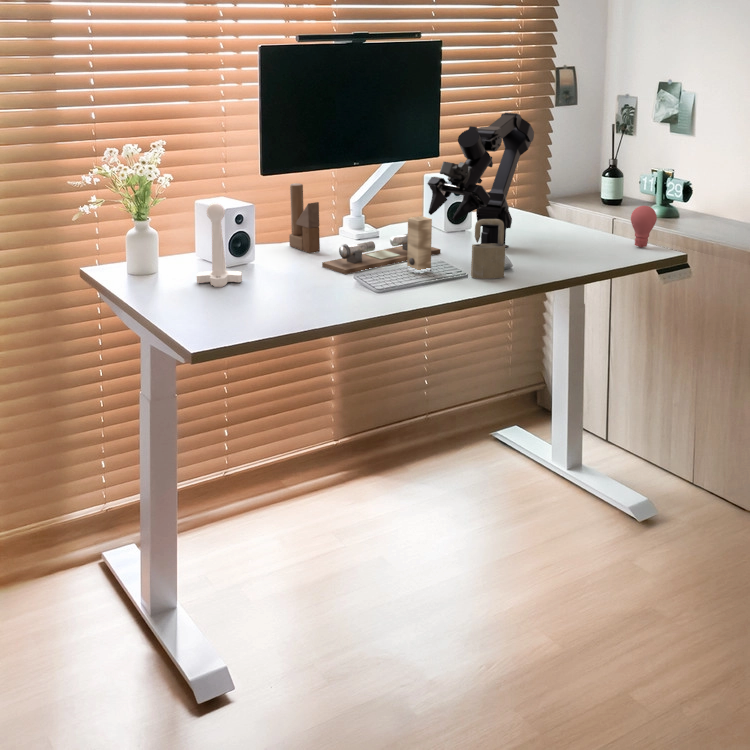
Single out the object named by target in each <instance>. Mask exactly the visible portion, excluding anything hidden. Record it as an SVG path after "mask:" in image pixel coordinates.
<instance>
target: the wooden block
mask: <svg viewBox="0 0 750 750" xmlns="http://www.w3.org/2000/svg"><path fill="white" fill-rule="evenodd" d="M289 190H290V191H289V193H290V195H289V196H290V220H291V221H290V222H291V223H290V224H291V233H289V237H288V238H289V247H292V248H295V249H298V250H301V251H303V252H304V253H308V254H314V252H315V253H319V252H320V251H321V250H320V249H321V245H320V244H321V243H320V239H321V238H320V202H318V201H315V202H310V203H307V204H306V206H305V207H304V185H303V183H300V182H296V183H295V182H294V183H290V185H289Z"/></svg>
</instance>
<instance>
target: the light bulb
mask: <svg viewBox="0 0 750 750" xmlns="http://www.w3.org/2000/svg"><path fill="white" fill-rule="evenodd" d="M657 216H658V215H657V213H656V211H655V209H654V208H653V207H651V206H648V205H640V206H639V205H638V206H637V207H636V208H635V209H634V210H633V211H632V213H631V215H630V223H631V225H632V228H633V230H634V231H633V232H634V237H635V238H634V244H633V245H634V246H636V247H638V248H641V249H642V248H644V247H645V248H646V247H647V246H648V242H649V237H650V233H651V232H652V230H653V228H654V227H655V225H656V223H657V220H658V218H657Z"/></svg>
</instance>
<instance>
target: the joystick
mask: <svg viewBox="0 0 750 750" xmlns="http://www.w3.org/2000/svg"><path fill="white" fill-rule="evenodd" d="M225 214H226V211H225V208H224V206H223V205H222V204H220V203H218V202H214V203H213V202H212V203H211V204H209V205H208V207H207V208H206V215H207V217H208V219H209V220H210V223H211V270H210V271H199V272H197V273H196V282H197V284H200V283H201V284H202V283H210V285H211V286H212V285H213V286H214V288H222V287H225V286H226V285H227V283H242V282H243V272H242V271H237V270H227V262H226V257H225V256H226V255H225V246H224V245H225V244H224V237H223V229H222V220H223V218H224V217H225ZM213 286H212V287H213Z"/></svg>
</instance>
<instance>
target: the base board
mask: <svg viewBox="0 0 750 750" xmlns="http://www.w3.org/2000/svg"><path fill="white" fill-rule="evenodd" d="M439 254H441V249H440V248H437V247H434V246H431V256H434V255H439ZM407 255H408V251H407V250H403V245H398V246H393V247H389V248H384V249H381V250H380V249H379V250H376V251H375V250H374V251H369V252H365V253H362V262H361V263H356V264H354V263H351V262H348V261H347V259H343V258H342V257H341V258H337V259H333V260H332V259H331V260H328V261H323V262H322V263H321V266H322V268H325V269H328V270H331V271H334V272H337V273H340V274H343V275H348V274H349V275H350V274H353V273H358V271H359V272H362V271H361V270H363V271H366V270H365V269H368V270H370V269H369V268H372V269H376V268H375V267H377V268H380V267H386V266H389V265H394V263H395V264H398V262H399V263H403V262H402V261H404V262H407V261H406V260H407Z"/></svg>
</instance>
